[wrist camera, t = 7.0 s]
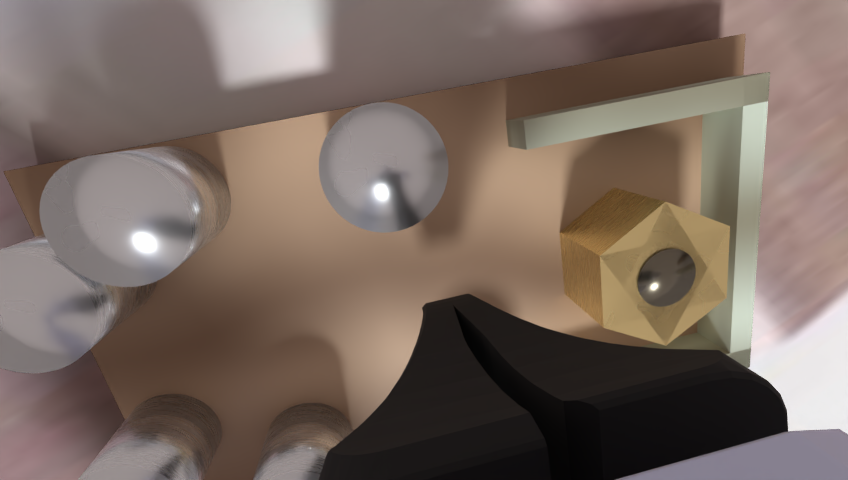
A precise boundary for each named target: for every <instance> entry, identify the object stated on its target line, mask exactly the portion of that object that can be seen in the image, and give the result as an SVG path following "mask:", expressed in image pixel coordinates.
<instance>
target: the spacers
mask: <svg viewBox="0 0 848 480" xmlns="http://www.w3.org/2000/svg"><path fill="white" fill-rule="evenodd" d="M319 177H320V182H321V186H322V189H323V192H324V194H325V196H326V198H327V200H328V201H329V203H330V204H331V206H332V207H333V208H334V209H335V211H336V212H337V213H338V214H339V215H340V216H342V217H343V218H344V219H345V220H347V221H348V222H350V223H351V224H353V225H355V226H357V227H359V228H362V229H365V230H368V231H373V232H381V233H385V232H396V231H400V230H404V229H407V228H409V227H411V226H414V225H415V224H417V223H419V222H420V221H422V220H423V219H424V218H426V217H427V216H428V215H429V214H430V213H431V212H432V211H433V209H434V208H435V207H436V206H437V204H438V202H439V201H440V199H441V197H442V195H443V193H444V190H445V187H446V184H447V178H448V157H447V153H446V149H445V146H444V143H443V141H442V139H441V137H440V135H439V133H438V132H437V131H436V129H435V128H434V126H433V125H432V124H431V123H430V122H429V121H428V120H427V119H426V118H425V117H423V116H422V115H421V114H419V113H418V112H416V111H415V110H413V109H410V108H408V107H406V106H403V105H400V104H396V103H389V102H377V103H370V104H366V105H362V106H360V107H357V108H355V109H353V110H351V111H350V112H348V113H346V114H345V115H344V116H343V117H341V118H340V119H339V120H338V121H337V122H336V123H335V124H334V125H333V127H332V128H331V129H330V131H329V132H328V134H327V136H326V138H325V140H324V142H323V145H322V148H321V152H320V156H319ZM230 211H231V196H230V191H229V188H228V185H227V183H226V181H225V179H224V177H223V176H222V174H221V173H220V171H219V170H218V169H217V168H216V167H215V166H214V165H213V164H212V163H211V162H210V161H209V160H208V159H206V158H205V157H203V156H202V155H200V154H198V153H196V152H194V151H191V150H189V149H185V148H182V147H176V146H160V147H152V148H144V149H137V150H129V151H121V152H113V153H106V154H98V155H90V156H86V157H82V158H78V159H76V160H73V161H71V162H69V163H67V164H66V165H64V166H62V167H61V168H60V169H59V170H58V171H56V172H55V173H54V174H53V176H52V177H51V178H50V179H49V181H48V182H47V184H46V186H45V188H44V190H43V193H42V196H41V200H40V209H39V213H40V222H41V226H42V230H43V232H44V234H42V235H39V236H37V237H34V238H31V239H28V240H25V241H23V242H20V243H17V244H14V245H11V246H9V247H6V248H3V249H0V368H2V369H5V370H10V371H14V372H21V373H45V372H51V371H55V370H58V369H61V368H64V367H66V366H68V365H70V364H72V363H73V362H75V361H76V360H78V359H79V358H80V357H81V356H83V355H84V354H85V353H86V352H87V351H89V350H90V349H91V348H92V347H93V346H95V345H96V344H97V343H98V342H99V341H101V340H102V339H103V338H104V337H105V336H106V335H108V334H109V333H110V332H111V331H112V330H114V329H115V328H116V327H117V326H118V325H120V324H121V323H122V322H123V321H124V320H126V319H127V318H128V317H129V316H130V315H132V314H133V313H134V312H135V311H136V310H137V309H139V308H140V307H141V306H142V305H143V304H145V303H146V302H147V301H148V299H149V298H150V297H151V295H152V294H153V292H154V290H155V287H156V284H157V281H158V280H160V279H162V278H164V277H165V276H167V275H168V274H170V273H171V272H172V271H173V270H175V269H176V268H177V267H178V266H180V265H181V264H182V263H183V262H185V261H186V260H187V259H188V258H190V257H191V256H192V255H194V254H195V253H196V252H197V251H199V250H200V249H201V248H202V247H204V246H205V245H206V244H207V243H209V242H210V241H211V240H212V239H214V238H215V237H216V236H217V235H218V234H219V233H220V232H221V231H222V230H223V228H224V227H225V225H226V223H227V221H228V219H229V216H230ZM351 432H352V427H351V425H350V423H349V421H348V419H347V418H346V417H345V415H344V414H342V413H341V412H340V411H339V410H337V409H335V408H334V407H331V406H329V405H326V404H322V403H302V404H298V405H295V406H292V407H290V408H288V409H286V410H284V411H283V412H281V413H280V414H279V415H278V416H277V417H276V418H275V419H274V420H273V422H272V423H271V425H270V427H269V429H268V432H267V436H266V439H265V442H264V445H263V449H262V452H261V455H260V458H259V462H258V465H257V468H256V471H255V475H254V478H253V480H319V477H320V474H321V470H322V467H323V464H324V461H325V458H326V455H327V453H328V451H329V450H330V449H332V448H333V447H334V446H336V445H337V444H338V443H339V442H341V441H342V440H343V439H344V438H345V437H347V436H348V435H349V434H350V433H351ZM221 436H222V428H221V423H220V420H219V418H218V416H217V415H216V414H215V412H214V411H213V410H212V409H211V408H210V407H209V406H208V405H207V404H205V403H204V402H202V401H200V400H198V399H196V398H193V397H191V396H187V395H182V394H163V395H158V396H154V397H151V398H149V399H147V400H145V401H143V402H142V403H140V404H139V405H138V406H137V407H136V408H135V409H134V410H133V411H132V412H131V413H130V415H129V416H128V417H127V418H126V420H125V421H124V422H123V423H122V425H121V426H120V427H119V429H118V430H117V431H116V432H115V434H114V435H113V436H112V437H111V439H110V440H109V441H108V442H107V444H106V445H105V446H104V447H103V449H102V450H101V451H100V452H99V454H98V455H97V456H96V458H95V459H94V460H93V461H92V463H91V464H90V465H89V466H88V468H87V469H86V470H85V471H84V473H83V474H82V475H81V476H80V478H79V479H78V480H203V479H204V477H205V475H206V473H207V470H208V468H209V466H210V464H211V461H212V459H213V457H214V455H215V452H216V450H217V448H218V446H219V443H220V441H221Z"/></svg>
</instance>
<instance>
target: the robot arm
mask: <svg viewBox="0 0 848 480" xmlns="http://www.w3.org/2000/svg"><path fill="white" fill-rule="evenodd" d="M422 310H423V319H422V324H421V328H420V332H419V336H418V339H417V342H416V345H415V347H414V350H413V352H412V355H411V357H410V359H409V361H408V364H407V366H406V368H405V369H404V371H403V373H402V375H401V376H400V378H399V380H398V381H397V383H396V384H395V386H394V387H393V389H392V390H391V392H390V393H389V395H388V396H387V397H386V399H385V400H384V401H383V402H382V403H381V404H380V405H379V407H378V408H377V409H376V410H375V411H374V412H373V413H372V414H371V415H370V416H369V417H368V418H367V419H366V420H365V421H364V422H363V423H362V424H361V425H360V426H359V427H357V428H356V429H355V430H354V431H353V432H351V433H350V434H349V435H348V436H347V437H345V438H344V439H343V440H342V441H341V442H339V443H338V444H337V445H336V446H334V447H333V448H332V449H330V450H329V451H328V453H327V455H326V458H325V461H324V464H323V467H322V470H321V474H320V477H319V480H848V434H846V433H845V432H843V431H842V430H840V429H830V430H806V431H789V432H788V422H787V410H786V407H785V405H784V402H783V400H782V397H781V395H780V393H779V392H778V391H777V390H776V389H775V388H774V387H773V386H772V385H771V384H770V383H769V382H768V381H767V380H765V379H764V378H762V377H761V376H759V375H757V374H756V373H754V372H753V371H751V370H750V369H748V368H746V367H745V366H743V365H742V364H740V363H739V362H737V361H735V360H734V359H732V358H731V357H729V356H728V355H726V354H724V353H723V352H721V351H720V350H696V349H660V348H649V347H638V346H628V345H620V344H613V343H607V342H601V341H596V340H590V339H585V338H581V337H576V336H572V335H568V334H565V333H561V332H558V331H554V330H550V329H547V328H544V327H541V326H538V325H536V324H533V323H531V322H528V321H525V320H523V319H520V318H518V317H516V316H513V315H511V314H509V313H507V312H505V311H503V310H501V309H498V308H496V307H494V306H492V305H491V304H489V303H487V302H485V301H483V300H481V299H479V298H477V297H475V296H473V295H471V294H463V295H459V296H455V297H450V298H446V299H442V300H438V301H433V302H429V303H425V305H424V306H423V307H422Z"/></svg>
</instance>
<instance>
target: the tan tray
mask: <svg viewBox="0 0 848 480" xmlns="http://www.w3.org/2000/svg"><path fill="white" fill-rule="evenodd" d="M744 51H745V34H740V35H735V36H730V37H724V38H719V39H714V40H708V41H703V42H697V43H692V44H687V45H681V46H676V47H670V48H665V49H660V50H654V51H649V52H644V53H638V54H633V55H627V56H622V57H617V58H611V59H606V60H601V61H595V62H590V63H584V64H579V65H574V66H568V67H563V68H558V69H552V70H547V71H541V72H536V73H531V74H525V75H520V76H515V77H509V78H504V79H498V80H493V81H488V82H482V83H477V84H471V85H466V86H461V87H455V88H450V89H445V90H439V91H434V92H428V93H423V94H418V95H412V96H407V97H402V98H396V99H391V100H385V101H380V102H389V103H396V104H400V105H403V106H406V107H408V108H410V109H413V110H415V111H416V112H418V113H419V114H421V115H422V116H423V117H425V118H426V119H427V120H428V121H429V122H430V123H431V124H432V125H433V126H434V128H435V129H436V131H437V132H438V133H439V135H440V137H441V139H442V141H443V143H444V146H445V149H446V153H447V157H448V178H447V184H446V187H445V190H444V193H443V195H442V197H441V199H440V201H439V202H438V204H437V206H436V207H435V208H434V209H433V211H432V212H431V213H430V214H429V215H428V216H427V217H426V218H424V219H423V220H422V221H420V222H419V223H417V224H415V225H414V226H411V227H409V228H407V229H404V230H400V231H396V232H385V233H381V232H373V231H368V230H365V229H362V228H359V227H357V226H355V225H353V224H351V223H350V222H348V221H347V220H345V219H344V218H343V217H342V216H340V215H339V214H338V213H337V212H336V211H335V209H334V208H333V207H332V206H331V204H330V203H329V201H328V200H327V198H326V196H325V194H324V192H323V189H322V186H321V182H320V177H319V156H320V152H321V148H322V145H323V142H324V140H325V138H326V136H327V134H328V132H329V131H330V129H331V128H332V127H333V125H334V124H335V123H336V122H337V121H338V120H339V119H340V118H341V117H343V116H344V115H345V114H346V113H348V112H350V111H351V110H353V109H355V108H357V107H360V106H362V105H359V106H353V107H348V108H342V109H337V110H332V111H326V112H321V113H316V114H310V115H305V116H299V117H294V118H289V119H283V120H278V121H272V122H267V123H262V124H256V125H251V126H246V127H240V128H235V129H229V130H224V131H219V132H213V133H208V134H203V135H197V136H192V137H186V138H181V139H176V140H170V141H165V142H160V143H154V144H149V145H143V146H138V147H133V148H127V149H122V150H117V151H111V152H106V153H113V152H121V151H129V150H137V149H144V148H152V147H160V146H176V147H182V148H185V149H189V150H191V151H194V152H196V153H198V154H200V155H202V156H203V157H205V158H206V159H208V160H209V161H210V162H211V163H212V164H213V165H214V166H215V167H216V168H217V169H218V170H219V171H220V173H221V174H222V176H223V177H224V179H225V181H226V183H227V185H228V188H229V191H230V196H231V211H230V216H229V219H228V221H227V223H226V225H225V227H224V228H223V230H222V231H221V232H220V233H219V234H218V235H217V236H216V237H215V238H214V239H212V240H211V241H210V242H209V243H207V244H206V245H205V246H204V247H202V248H201V249H200V250H199V251H197V252H196V253H195V254H194V255H192V256H191V257H190V258H188V259H187V260H186V261H185V262H183V263H182V264H181V265H180V266H178V267H177V268H176V269H175V270H173V271H172V272H171V273H170V274H168V275H167V276H165V277H164V278H162V279H160V280H158V281H157V284H156V287H155V290H154V292H153V294H152V295H151V297H150V298H149V299H148V301H147V302H146V303H145V304H143V305H142V306H141V307H140V308H139V309H137V310H136V311H135V312H134V313H133V314H132V315H130V316H129V317H128V318H127V319H126V320H124V321H123V322H122V323H121V324H120V325H118V326H117V327H116V328H115V329H114V330H112V331H111V332H110V333H109V334H108V335H106V336H105V337H104V338H103V339H102V340H101V341H99V342H98V343H97V344H96V345H95V346H93V347H92V348H91V349H90V350H91V352H92V354H93V356H94V358H95V360H96V362H97V364H98V366H99V368H100V370H101V372H102V374H103V376H104V378H105V380H106V382H107V384H108V387H109V389H110V391H111V393H112V395H113V397H114V399H115V401H116V403H117V405H118V407H119V409H120V411H121V413H122V415H123V417H124V419H125V420H126V418H127V417H128V416H129V415H130V413H131V412H132V411H133V410H134V409H135V408H136V407H137V406H138V405H139V404H140V403H142V402H143V401H145V400H147V399H149V398H151V397H154V396H158V395H163V394H182V395H187V396H191V397H193V398H196V399H198V400H200V401H202V402H204V403H205V404H207V405H208V406H209V407H210V408H211V409H212V410H213V411H214V412H215V414H216V415H217V416H218V418H219V420H220V423H221V428H222V436H221V441H220V443H219V446H218V448H217V450H216V452H215V455H214V457H213V459H212V461H211V464H210V466H209V468H208V470H207V473H206V475H205V477H204V479H203V480H253V478H254V475H255V471H256V468H257V465H258V462H259V458H260V455H261V452H262V449H263V445H264V442H265V439H266V436H267V432H268V429H269V427H270V425H271V423H272V422H273V420H274V419H275V418H276V417H277V416H278V415H279V414H280V413H281V412H283V411H284V410H286V409H288V408H290V407H292V406H295V405H298V404H302V403H322V404H326V405H329V406H331V407H334V408H335V409H337V410H339V411H340V412H341V413H342V414H344V415H345V417H346V418H347V419H348V421H349V423H350V425H351V427H352V432H353V431H354V430H355V429H356V428H357V427H359V426H360V425H361V424H362V423H363V422H364V421H365V420H366V419H367V418H368V417H369V416H370V415H371V414H372V413H373V412H374V411H375V410H376V409H377V408H378V407H379V405H380V404H381V403H382V402H383V401H384V400H385V399H386V397H387V396H388V395H389V393H390V392H391V390H392V389H393V387H394V386H395V384H396V383H397V381H398V380H399V378H400V376H401V375H402V373H403V371H404V369H405V368H406V366H407V364H408V361H409V359H410V357H411V355H412V352H413V350H414V347H415V345H416V342H417V339H418V336H419V332H420V328H421V324H422V319H423V310H422V307H423V306H424V305H425V303H429V302H433V301H438V300H442V299H446V298H450V297H455V296H459V295H463V294H471V295H473V296H475V297H477V298H479V299H481V300H483V301H485V302H487V303H489V304H491V305H492V306H494V307H496V308H498V309H501V310H503V311H505V312H507V313H509V314H511V315H513V316H516V317H518V318H520V319H523V320H525V321H528V322H531V323H533V324H536V325H538V326H541V327H544V328H547V329H550V330H554V331H558V332H561V333H565V334H568V335H572V336H576V337H581V338H585V339H590V340H596V341H601V342H607V343H613V344H620V345H628V346H638V347H649V348H660V349H696V350H720V351H721V352H723V353H724V354H726V355H728V356H729V357H731V358H732V359H734V360H735V361H737V362H739V363H740V364H742V365H743V366H745V367H746V368H748V367H750V353H751V338H752V324H753V310H754V296H755V281H756V267H757V253H758V238H759V224H760V210H761V196H762V181H763V167H764V153H765V138H766V124H767V110H768V96H769V81H770V72H768V73H759V74H751V75H743V70H744ZM375 103H377V102H375ZM369 104H370V103H369ZM364 105H366V104H364ZM106 153H100V154H106ZM95 155H98V154H95ZM84 157H86V156H84ZM79 158H82V157H79ZM76 159H78V158H73V159H68V160H63V161H57V162H52V163H47V164H41V165H36V166H30V167H25V168H20V169H14V170H9V171H4V174H5V176H6V178H7V180H8V182H9V184H10V186H11V188H12V190H13V192H14V194H15V196H16V198H17V200H18V202H19V205H20V207H21V209H22V211H23V213H24V215H25V217H26V219H27V221H28V223H29V225H30V227H31V229H32V231H33V233H34V235H35V237H37V236H39V235H42V234H44V232H43V230H42V226H41V222H40V213H39V209H40V200H41V196H42V193H43V190H44V188H45V186H46V184H47V182H48V181H49V179H50V178H51V177H52V176H53V174H54V173H55V172H56V171H58V170H59V169H60V168H61V167H62V166H64V165H66V164H67V163H69V162H71V161H73V160H76ZM612 188H617V189H621V190H625V191H628V192H632V193H636V194H639V195H643V196H647V197H651V198H654V199H658V200H662V201H665V202H668V203H671V204H673V205H676V206H679V207H681V208H684V209H686V210H689V211H692V212H694V213H697V214H699V215H702V216H705V217H707V218H710V219H712V220H715V221H718V222H720V223H723V224H725V225H728V226H730V239H729V260H728V281H727V298H726V299H725V300H723V301H722V302H721V303H720V304H718V305H717V306H716V307H715V308H713V309H712V310H711V311H710V312H708V313H707V314H706V315H704V316H703V317H702V318H701V319H699V320H698V321H697V322H696V323H694V324H693V325H692V326H690V327H689V328H688V329H687V330H685V331H684V332H683V333H682V334H680V335H679V336H678V337H676V338H675V339H674V340H673V341H671V342H670V343H669V344H668V345H666V346H665V345H662V344H658V343H655V342H651V341H648V340H644V339H641V338H637V337H634V336H630V335H627V334H623V333H620V332H616V331H613V330H609V329H606V328H603V327H602V326H601V325H600V324H599V323H597V322H596V321H595V320H594V319H593V318H592V317H591V316H589V315H588V314H587V313H586V312H585V311H584V310H582V309H581V308H580V307H579V306H578V305H577V304H576V303H574V302H573V301H572V300H571V299H570V298H569V297H567V296H566V295H565V293H564V281H563V269H562V257H561V245H560V232H561V231H562V230H563V229H564V228H566V227H567V226H568V225H569V224H570V223H572V222H573V221H574V220H575V219H576V218H578V217H579V216H580V215H581V214H582V213H584V212H585V211H586V210H587V209H588V208H590V207H591V206H592V205H593V204H594V203H596V202H597V201H598V200H599V199H600V198H602V197H603V196H604V195H605V194H606V193H608V192H609V191H610V190H611V189H612Z"/></svg>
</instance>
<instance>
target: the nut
mask: <svg viewBox="0 0 848 480" xmlns="http://www.w3.org/2000/svg"><path fill="white" fill-rule="evenodd" d="M729 239H730V226H728V225H725V224H723V223H720V222H718V221H715V220H712V219H710V218H707V217H705V216H702V215H699V214H697V213H694V212H692V211H689V210H686V209H684V208H681V207H679V206H676V205H673V204H671V203H668V202H665V201H662V200H658V199H654V198H651V197H647V196H643V195H639V194H636V193H632V192H628V191H625V190H621V189H617V188H612V189H611V190H610V191H609V192H608V193H606V194H605V195H604V196H603V197H602V198H600V199H599V200H598V201H597V202H596V203H594V204H593V205H592V206H591V207H590V208H588V209H587V210H586V211H585V212H584V213H582V214H581V215H580V216H579V217H578V218H576V219H575V220H574V221H573V222H572V223H570V224H569V225H568V226H567V227H566V228H564V229H563V230H562V231H561V232H560V245H561V257H562V269H563V281H564V293H565V295H566V296H567V297H569V298H570V299H571V300H572V301H573V302H574V303H576V304H577V305H578V306H579V307H580V308H581V309H582V310H584V311H585V312H586V313H587V314H588V315H589V316H591V317H592V318H593V319H594V320H595V321H596V322H597V323H599V324H600V325H601V326H602V327H603V328H606V329H609V330H613V331H616V332H620V333H623V334H627V335H630V336H634V337H637V338H641V339H644V340H648V341H651V342H655V343H658V344H662V345H665V346H666V345H668V344H669V343H670V342H671V341H673V340H674V339H675V338H676V337H678V336H679V335H680V334H682V333H683V332H684V331H685V330H687V329H688V328H689V327H690V326H692V325H693V324H694V323H696V322H697V321H698V320H699V319H701V318H702V317H703V316H704V315H706V314H707V313H708V312H710V311H711V310H712V309H713V308H715V307H716V306H717V305H718V304H720V303H721V302H722V301H723V300H725V299H726V298H727V281H728V260H729Z"/></svg>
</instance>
